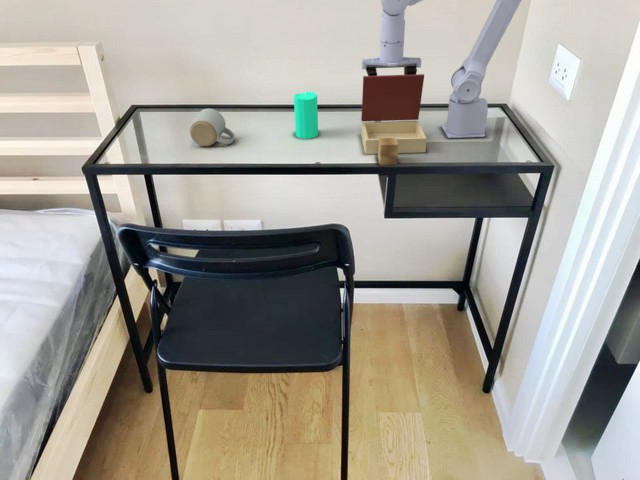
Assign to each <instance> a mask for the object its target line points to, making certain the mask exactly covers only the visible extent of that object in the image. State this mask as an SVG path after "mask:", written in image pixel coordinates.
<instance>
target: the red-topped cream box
mask: <svg viewBox="0 0 640 480" xmlns="http://www.w3.org/2000/svg"><path fill="white" fill-rule="evenodd" d="M360 125H361V126H360V127H361V128H360V129H361V130H360V131H361V132H360V134H361V135H360V137H361V141H362V145H363V146H362V147H363V150H364V154H365V155H378V146H379V138H396V140H397V143H398V154H413V153H417V154H419V153H427V152H426V149H427V138H428V137H426V134H425V132H424V130H423V128H422V126H421V124H420V122H419V120H394V121H361V124H360Z"/></svg>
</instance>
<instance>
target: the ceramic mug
mask: <svg viewBox="0 0 640 480" xmlns="http://www.w3.org/2000/svg"><path fill="white" fill-rule="evenodd" d="M189 134H190V137H191V140H192V141H193V142H194V143H195V144H197V145H199V146H201V147H210V146H212V145H214V144H215V143H217V142H218V143H220V144H223V145H231V144H233V143H234V141H235V138H236V134H235V133H234V132H233V131H232V130H231V129H230V128H228V127H226V120H225V117H224V116H223V115H222V114H221V113H220V112H219V111H217V110H216V109H214V108H204V109H202V110H200V111H199V112H198V113H197V116H196V117H195V118H194V120H193V121H192V122H191V125H190V128H189ZM222 134H225V135H227V136H229V137H230V138H224V137H222Z"/></svg>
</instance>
